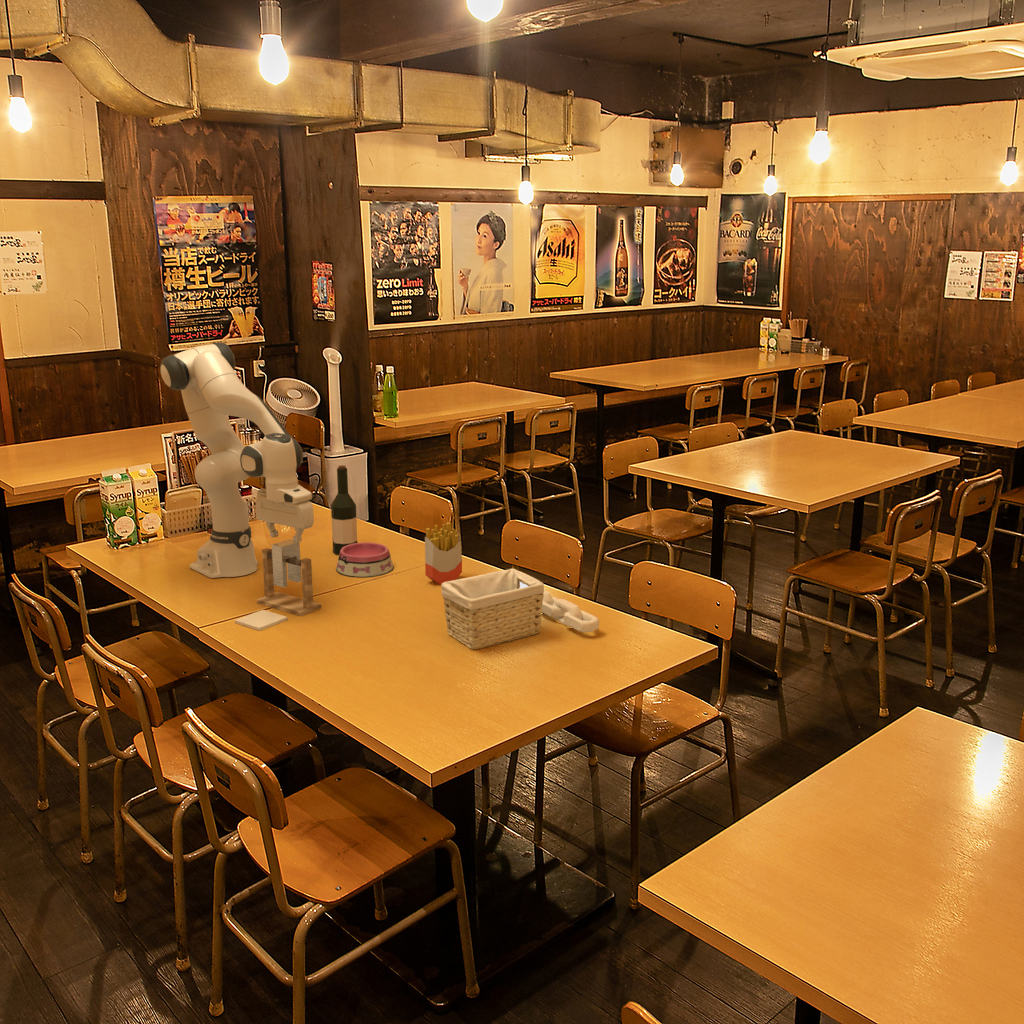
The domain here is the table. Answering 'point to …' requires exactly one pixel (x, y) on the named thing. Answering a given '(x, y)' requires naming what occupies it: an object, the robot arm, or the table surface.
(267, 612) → the ceramic tile
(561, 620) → the chain
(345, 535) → the wine bottle
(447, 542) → the french fries container
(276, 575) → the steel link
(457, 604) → the storage basket
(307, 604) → the rail stand
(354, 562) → the dog bowl
